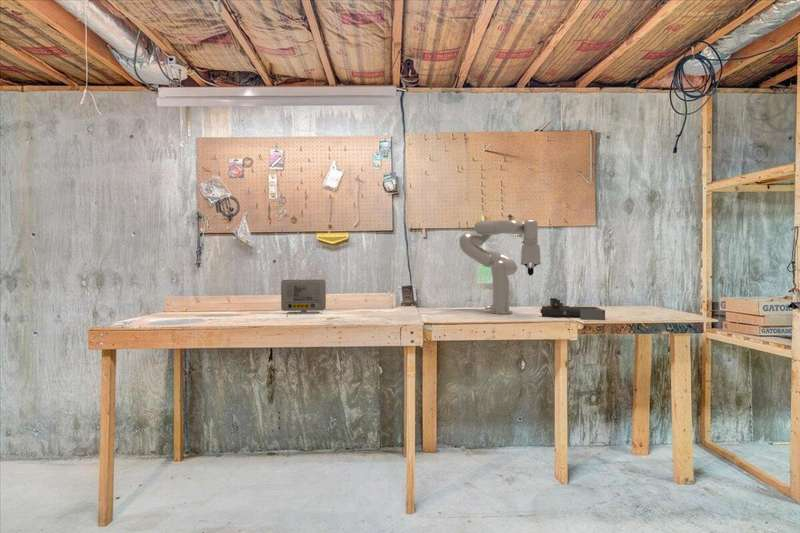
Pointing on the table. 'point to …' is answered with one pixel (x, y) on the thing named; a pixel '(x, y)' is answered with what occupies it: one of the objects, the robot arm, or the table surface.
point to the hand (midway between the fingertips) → (530, 275)
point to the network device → (303, 296)
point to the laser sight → (560, 310)
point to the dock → (592, 313)
